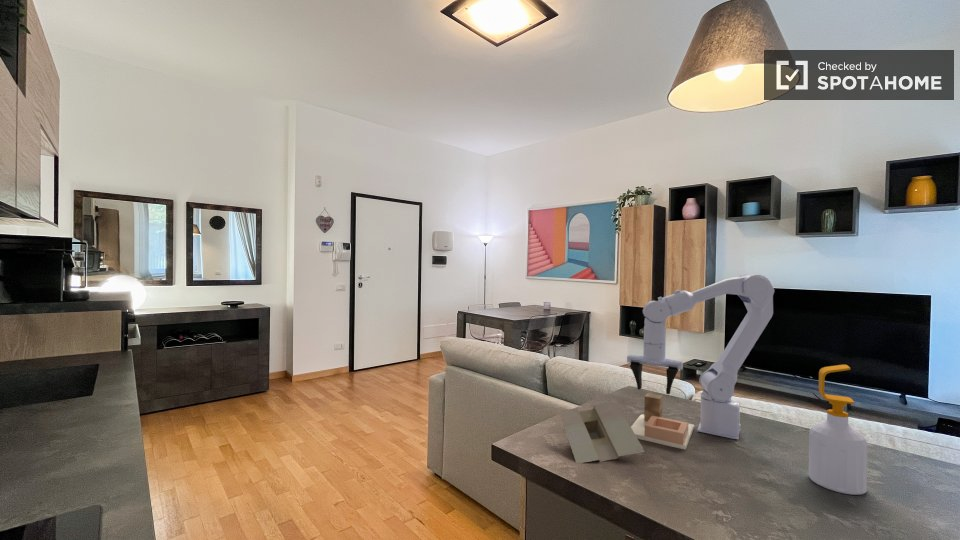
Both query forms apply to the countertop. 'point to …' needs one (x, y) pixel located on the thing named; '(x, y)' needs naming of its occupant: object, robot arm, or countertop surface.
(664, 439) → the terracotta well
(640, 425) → the cream board
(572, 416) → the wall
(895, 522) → the countertop surface
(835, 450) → the soap bottle
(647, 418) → the walnut block
